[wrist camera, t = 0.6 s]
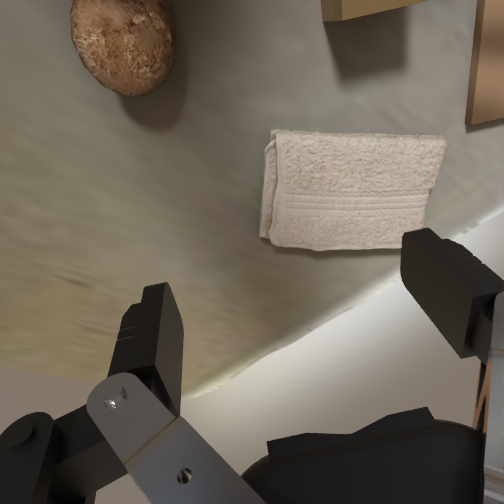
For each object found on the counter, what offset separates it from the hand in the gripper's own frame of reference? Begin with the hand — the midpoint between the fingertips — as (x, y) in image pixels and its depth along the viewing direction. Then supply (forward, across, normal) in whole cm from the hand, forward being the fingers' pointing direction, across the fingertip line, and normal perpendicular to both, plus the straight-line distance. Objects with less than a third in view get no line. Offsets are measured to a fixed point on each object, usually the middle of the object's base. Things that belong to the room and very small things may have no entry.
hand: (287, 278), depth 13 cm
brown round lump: (+25, +6, -8) cm, 27 cm away
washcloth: (+25, -10, +9) cm, 28 cm away
